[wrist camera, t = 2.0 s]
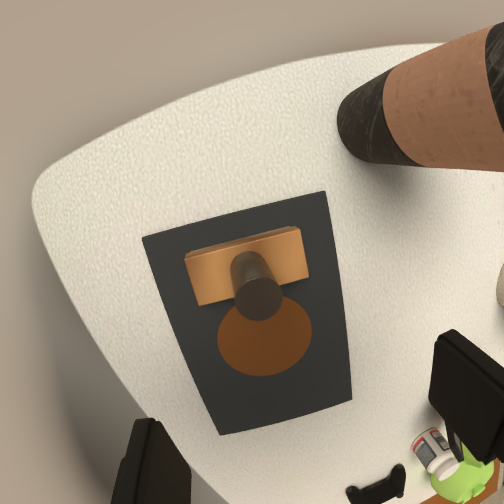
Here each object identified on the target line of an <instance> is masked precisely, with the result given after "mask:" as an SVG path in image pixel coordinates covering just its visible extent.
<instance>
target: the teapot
mask: <svg viewBox="0 0 504 504" xmlns="http://www.w3.org/2000/svg"><path fill="white" fill-rule="evenodd" d="M461 443H462V441H461ZM462 449H463V455H464V461H462V462H460V463H459V464H460V466H459V468H458V469H457V470H456V471H455V472H454V473H453V474H452V475H451V476H449V477H448V478H446V479H444V480H442V481H439V480H438V479H437V477H436V476H435V473H432V475H431V486H432V487H433V489H434V490H435V491H436V492H437V493H438V494H439V495H441V496H442V497H444V498H446V499H448V500H450V501H453V502H456V503H459V502H461V503H462V504H464V503H465V502H466V501H468V500H469V499H470V498H471V495H472V494H473V497H476V496H477V495H479V494H480V493H481V492H482V491H483V490H484V489H485V486H483V485H484V484H485V483H486V482H487V481H488V480H489V479H490V477H491V476H492V474H493V472H494V464H493V461H492V462H490V463H489V464H488V465H486V466H485V465H484V463H483V462H482V461H481V462H479V461H477V460H476V459H475V458H474V456H473V455H472V454H471V453H470V451H469V450H468V449H467V448H466V446H465V445H464V444H463V443H462ZM453 459H456V458H455V456H454V458H453ZM456 460H457V459H456Z"/></svg>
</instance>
